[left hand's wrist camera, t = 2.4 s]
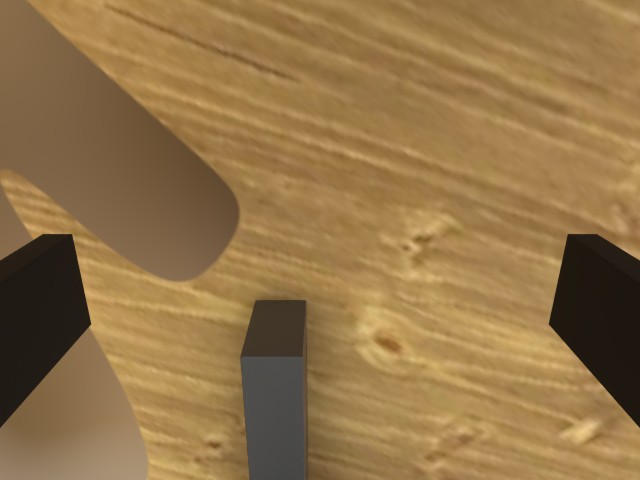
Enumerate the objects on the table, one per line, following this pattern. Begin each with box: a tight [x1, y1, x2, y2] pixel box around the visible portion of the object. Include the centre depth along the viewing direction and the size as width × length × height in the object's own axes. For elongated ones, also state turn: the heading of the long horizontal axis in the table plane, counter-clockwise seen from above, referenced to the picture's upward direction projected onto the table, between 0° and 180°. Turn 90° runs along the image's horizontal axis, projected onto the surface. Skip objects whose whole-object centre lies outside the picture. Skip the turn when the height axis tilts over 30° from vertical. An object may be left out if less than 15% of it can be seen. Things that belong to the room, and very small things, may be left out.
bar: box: [240, 301, 308, 480], centre depth 42 cm, size 27×5×8 cm, turn 0°
